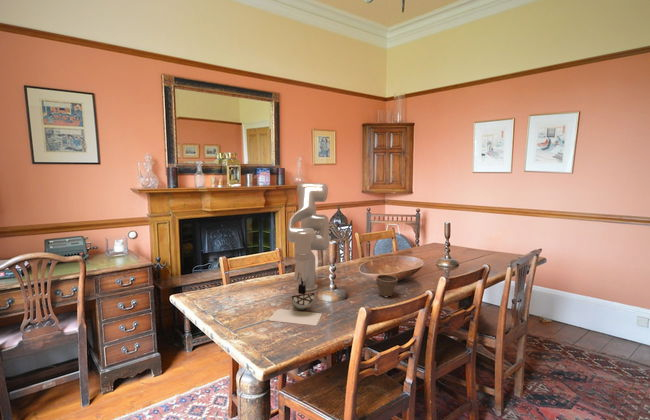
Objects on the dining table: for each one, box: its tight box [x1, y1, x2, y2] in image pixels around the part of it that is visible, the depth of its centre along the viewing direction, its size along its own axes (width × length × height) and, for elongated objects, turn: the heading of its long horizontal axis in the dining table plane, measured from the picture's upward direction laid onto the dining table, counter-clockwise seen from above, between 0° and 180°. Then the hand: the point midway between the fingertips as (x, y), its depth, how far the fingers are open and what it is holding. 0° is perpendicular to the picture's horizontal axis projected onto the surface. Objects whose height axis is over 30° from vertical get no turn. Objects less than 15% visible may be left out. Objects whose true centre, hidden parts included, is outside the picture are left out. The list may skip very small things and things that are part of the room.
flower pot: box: [375, 274, 399, 297], centre depth 196 cm, size 12×11×10 cm
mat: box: [268, 308, 323, 327], centre depth 165 cm, size 13×22×1 cm, turn 79°
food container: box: [289, 291, 317, 311], centre depth 170 cm, size 12×6×10 cm
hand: (301, 293), depth 174 cm, fingers closed
